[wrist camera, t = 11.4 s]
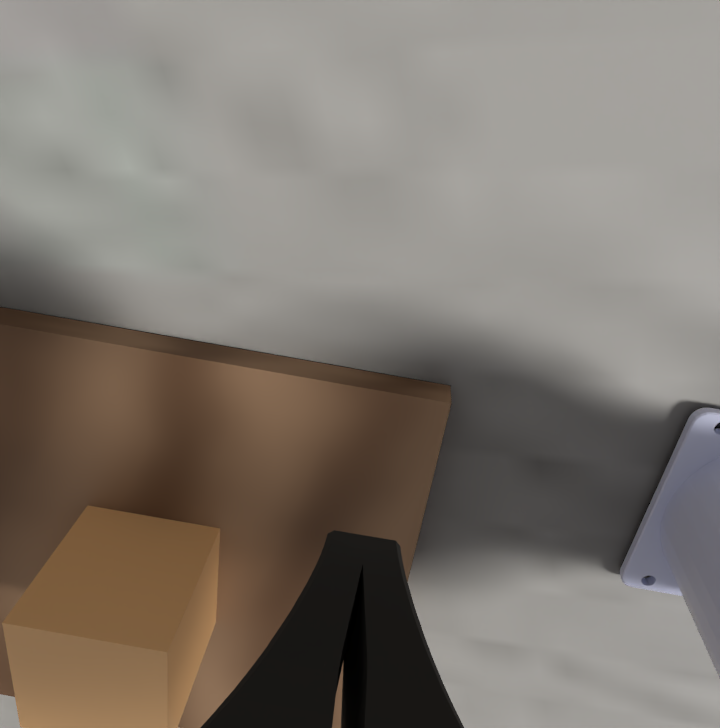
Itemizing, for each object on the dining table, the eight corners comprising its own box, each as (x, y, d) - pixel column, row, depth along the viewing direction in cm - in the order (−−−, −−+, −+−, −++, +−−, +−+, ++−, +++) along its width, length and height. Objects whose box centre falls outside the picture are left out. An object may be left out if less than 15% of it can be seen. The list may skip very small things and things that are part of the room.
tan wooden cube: (220, 528, 25) (167, 652, 20) (215, 622, 27) (167, 753, 22) (87, 505, 25) (1, 622, 20) (95, 600, 27) (20, 726, 22)
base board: (450, 385, 22) (451, 403, 21) (365, 737, 32) (362, 762, 31) (-111, 287, 23) (-138, 299, 22) (-33, 663, 32) (-49, 684, 31)
